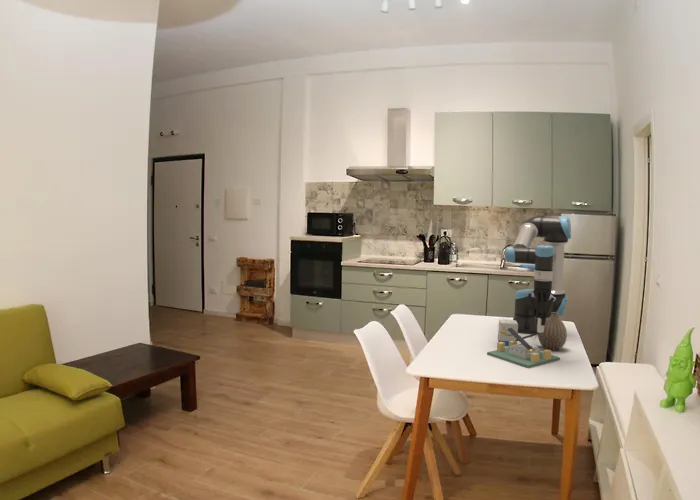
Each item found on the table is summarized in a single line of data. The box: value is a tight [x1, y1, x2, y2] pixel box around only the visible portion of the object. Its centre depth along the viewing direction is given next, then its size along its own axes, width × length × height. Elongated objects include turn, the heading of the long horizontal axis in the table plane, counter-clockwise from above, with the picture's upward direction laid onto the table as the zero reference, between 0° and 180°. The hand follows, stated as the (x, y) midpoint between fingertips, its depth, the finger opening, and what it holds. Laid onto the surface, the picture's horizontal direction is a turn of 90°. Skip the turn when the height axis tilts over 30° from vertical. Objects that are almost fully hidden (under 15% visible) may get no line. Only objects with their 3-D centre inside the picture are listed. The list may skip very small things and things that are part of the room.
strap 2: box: [513, 332, 542, 342], centre depth 222 cm, size 3×14×1 cm, turn 34°
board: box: [486, 341, 561, 369], centre depth 219 cm, size 23×22×5 cm
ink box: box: [497, 318, 519, 347], centre depth 241 cm, size 8×8×12 cm
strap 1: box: [508, 328, 535, 352], centre depth 216 cm, size 3×14×1 cm
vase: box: [537, 312, 568, 351], centre depth 235 cm, size 13×13×18 cm
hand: (540, 332), depth 216 cm, fingers closed
